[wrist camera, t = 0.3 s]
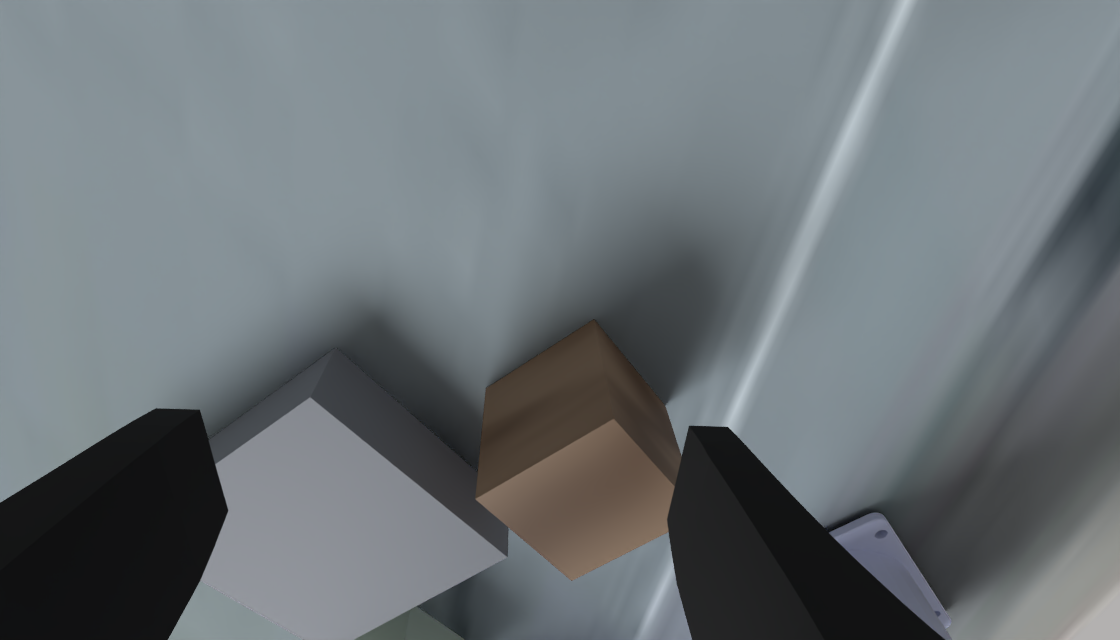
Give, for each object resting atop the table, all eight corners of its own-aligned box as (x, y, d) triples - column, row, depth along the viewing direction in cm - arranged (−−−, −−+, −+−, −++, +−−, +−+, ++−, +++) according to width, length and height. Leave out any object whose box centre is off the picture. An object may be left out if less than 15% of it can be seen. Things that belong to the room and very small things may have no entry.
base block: (509, 492, 23) (507, 557, 21) (347, 585, 26) (327, 653, 23) (338, 340, 19) (310, 397, 17) (166, 466, 22) (117, 533, 19)
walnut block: (664, 404, 21) (700, 515, 17) (562, 463, 22) (571, 580, 18) (593, 318, 19) (613, 419, 15) (486, 387, 20) (475, 499, 16)
